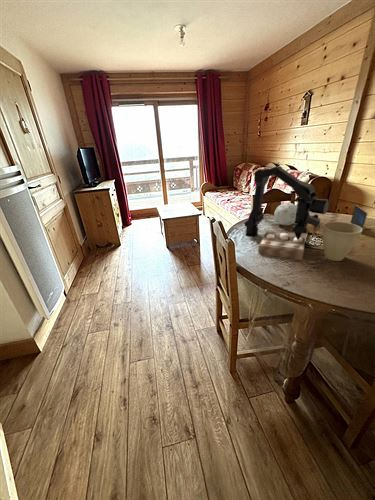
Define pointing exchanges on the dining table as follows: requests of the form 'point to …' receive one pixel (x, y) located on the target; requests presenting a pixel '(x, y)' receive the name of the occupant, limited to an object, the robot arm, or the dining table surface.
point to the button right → (298, 239)
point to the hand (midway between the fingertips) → (298, 239)
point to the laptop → (359, 217)
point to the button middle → (284, 236)
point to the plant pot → (339, 239)
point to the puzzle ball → (285, 214)
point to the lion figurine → (315, 227)
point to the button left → (270, 236)
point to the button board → (282, 246)
